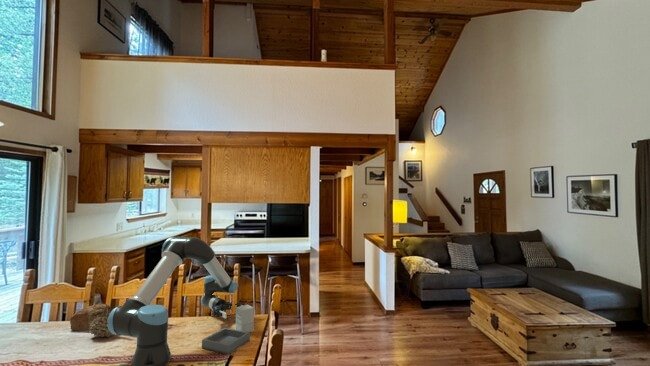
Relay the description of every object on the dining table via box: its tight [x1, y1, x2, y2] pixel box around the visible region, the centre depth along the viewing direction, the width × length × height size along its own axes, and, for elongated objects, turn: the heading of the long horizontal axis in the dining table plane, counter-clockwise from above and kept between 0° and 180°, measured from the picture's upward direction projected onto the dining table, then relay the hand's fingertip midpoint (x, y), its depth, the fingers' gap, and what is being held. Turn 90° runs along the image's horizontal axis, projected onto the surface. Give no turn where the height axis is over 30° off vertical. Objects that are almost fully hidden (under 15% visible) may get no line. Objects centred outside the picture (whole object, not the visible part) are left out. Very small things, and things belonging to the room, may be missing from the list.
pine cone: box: [88, 316, 114, 338], centre depth 162 cm, size 22×10×10 cm, turn 89°
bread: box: [69, 303, 111, 331], centre depth 179 cm, size 19×11×10 cm, turn 2°
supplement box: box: [235, 304, 255, 333], centre depth 170 cm, size 7×7×13 cm
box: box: [201, 327, 251, 355], centre depth 153 cm, size 16×16×4 cm
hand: (237, 312), depth 176 cm, fingers open, 13 cm apart
